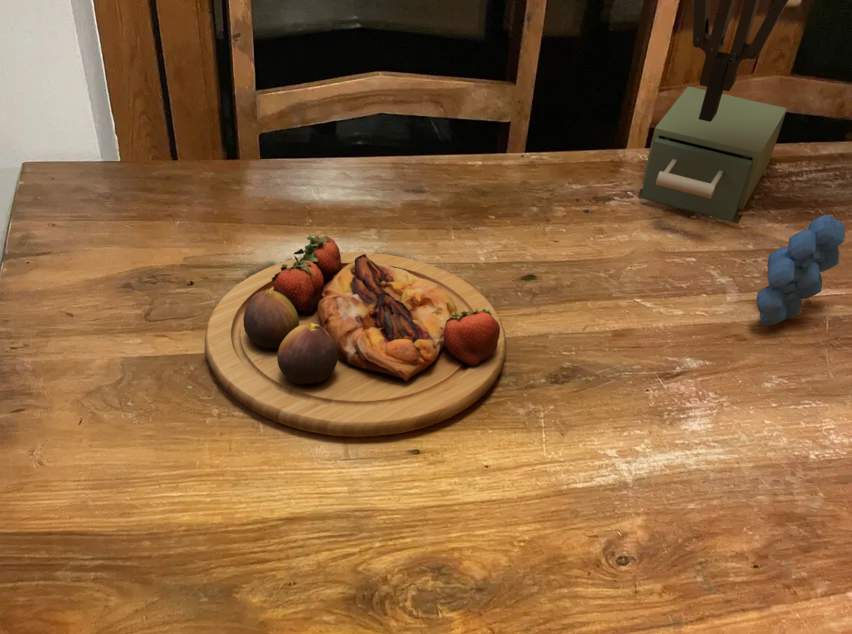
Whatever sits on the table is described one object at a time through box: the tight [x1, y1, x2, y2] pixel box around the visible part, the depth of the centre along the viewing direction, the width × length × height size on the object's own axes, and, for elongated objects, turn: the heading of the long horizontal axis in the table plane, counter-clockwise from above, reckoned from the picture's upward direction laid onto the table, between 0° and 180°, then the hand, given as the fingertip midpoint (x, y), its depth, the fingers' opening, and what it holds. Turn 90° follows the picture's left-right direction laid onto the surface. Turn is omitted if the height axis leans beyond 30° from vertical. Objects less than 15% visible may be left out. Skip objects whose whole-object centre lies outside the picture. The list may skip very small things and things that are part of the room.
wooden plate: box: [204, 234, 507, 437], centre depth 98 cm, size 32×32×8 cm
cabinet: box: [638, 86, 788, 224], centre depth 125 cm, size 16×14×9 cm
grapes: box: [755, 214, 846, 327], centre depth 103 cm, size 12×7×12 cm, turn 127°
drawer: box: [641, 137, 753, 222], centre depth 122 cm, size 21×12×7 cm, turn 153°
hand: (707, 116), depth 111 cm, fingers closed
